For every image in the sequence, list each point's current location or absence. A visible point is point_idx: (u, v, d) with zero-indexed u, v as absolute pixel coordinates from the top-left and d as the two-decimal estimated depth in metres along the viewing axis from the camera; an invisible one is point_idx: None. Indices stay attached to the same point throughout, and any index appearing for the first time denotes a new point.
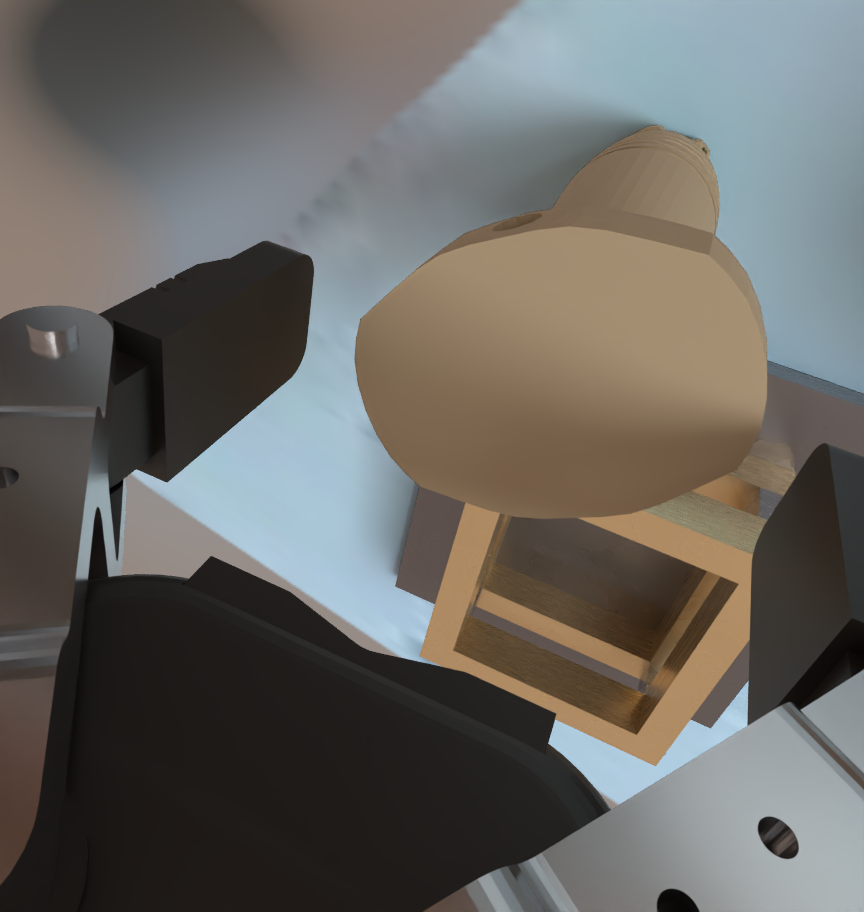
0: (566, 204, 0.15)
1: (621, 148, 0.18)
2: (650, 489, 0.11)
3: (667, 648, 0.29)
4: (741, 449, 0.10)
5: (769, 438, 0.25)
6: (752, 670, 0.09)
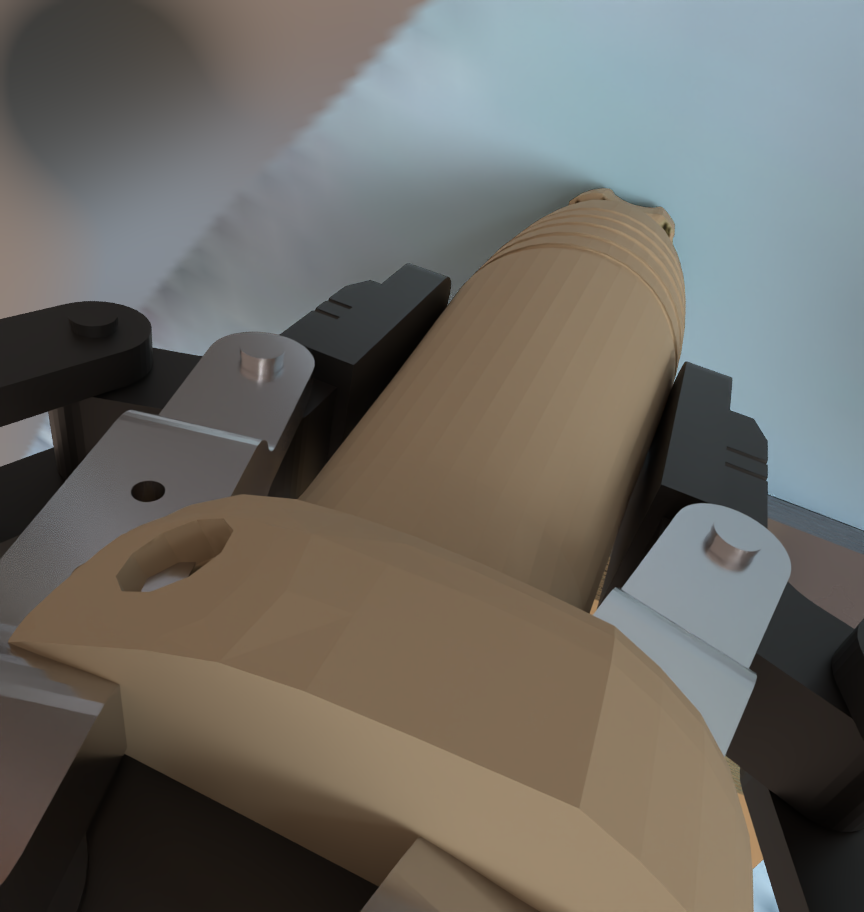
0: (413, 371, 0.09)
1: (532, 245, 0.12)
2: None
3: None
4: None
5: None
6: (611, 558, 0.10)
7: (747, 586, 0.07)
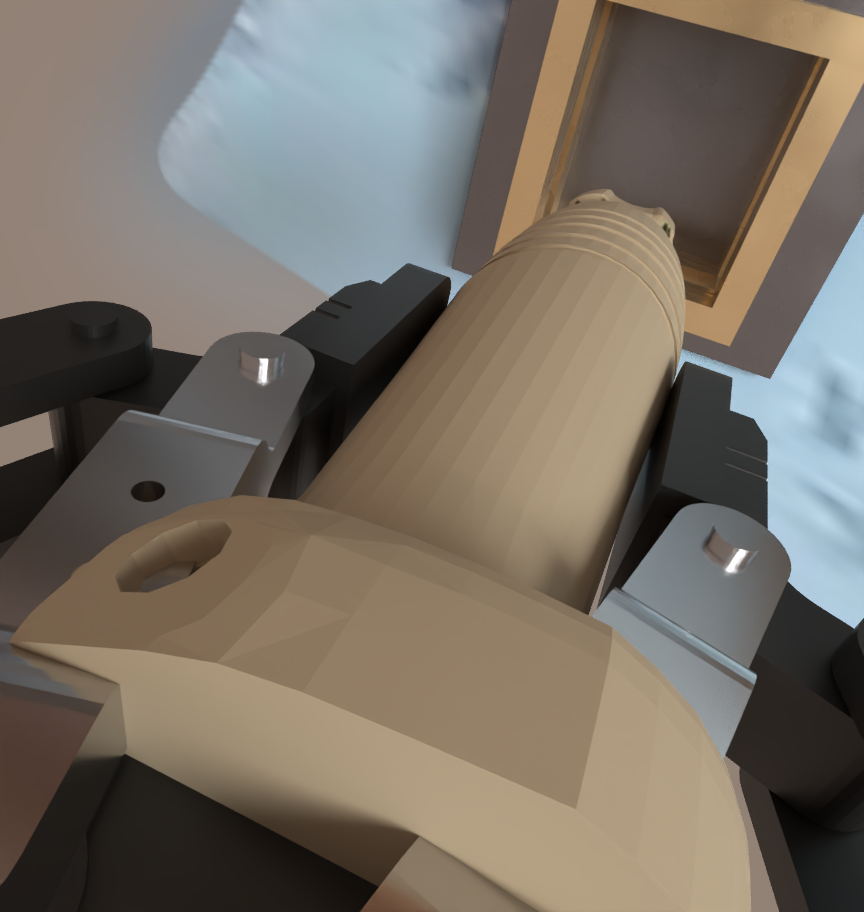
0: (412, 372, 0.09)
1: (532, 245, 0.12)
2: None
3: None
4: None
5: None
6: (611, 558, 0.10)
7: (747, 586, 0.07)
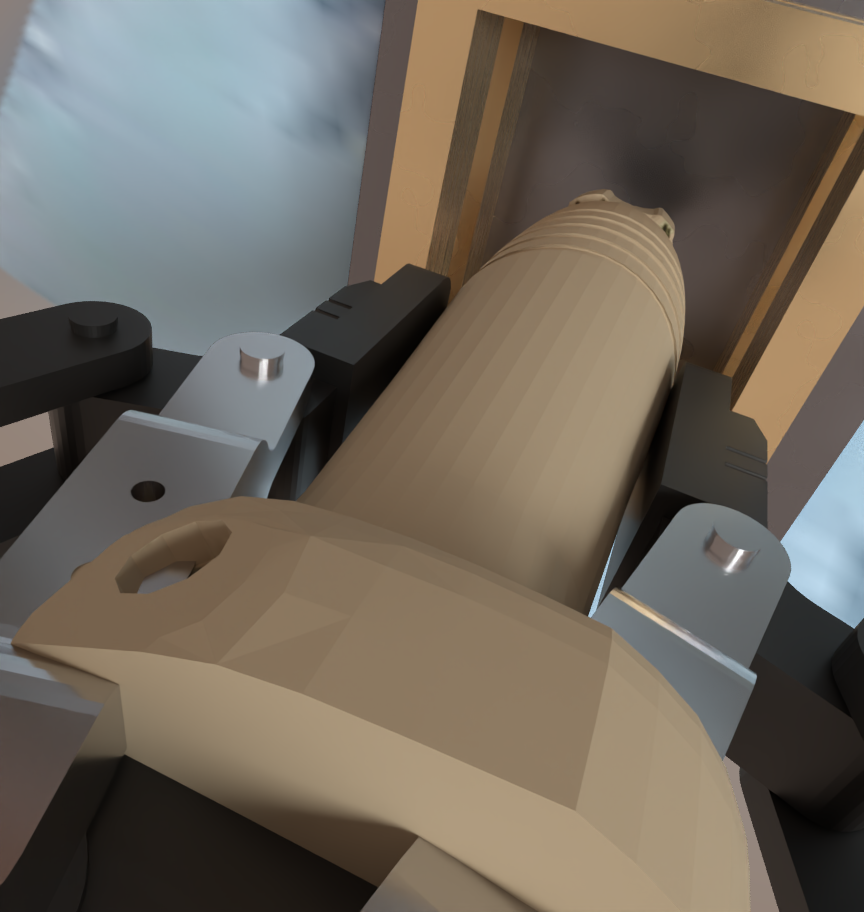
0: (412, 372, 0.09)
1: (532, 246, 0.12)
2: None
3: None
4: None
5: None
6: (611, 558, 0.10)
7: (747, 586, 0.07)
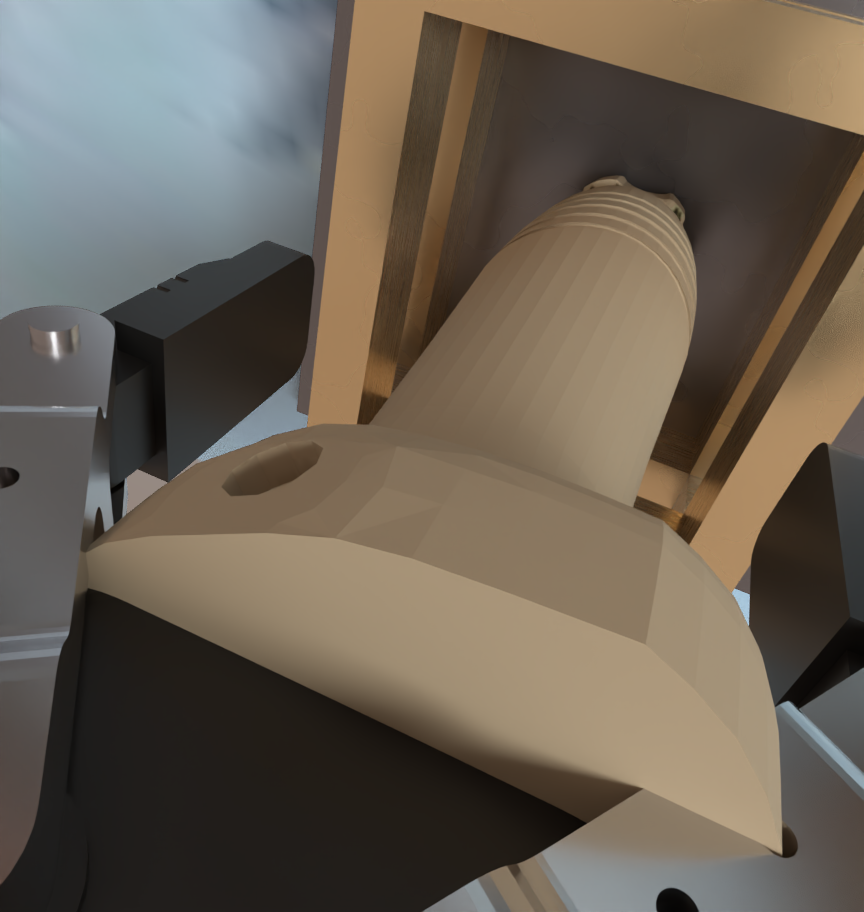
0: (451, 335, 0.09)
1: (554, 224, 0.12)
2: None
3: (721, 443, 0.17)
4: None
5: None
6: None
7: None
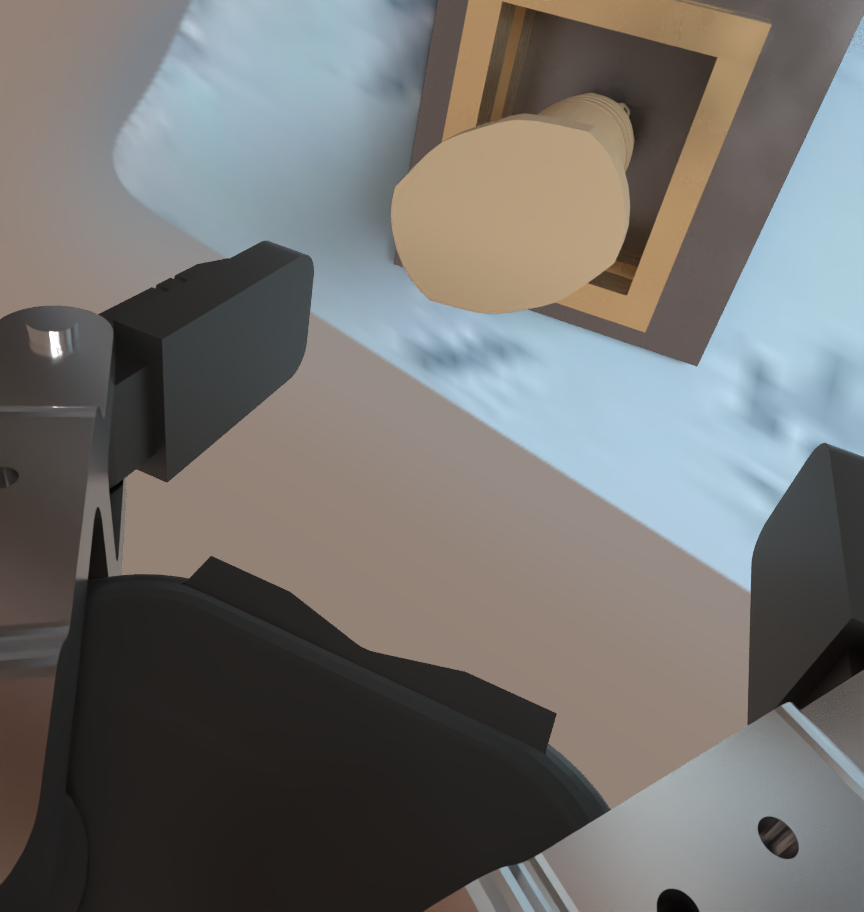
0: None
1: (561, 102, 0.26)
2: (567, 283, 0.19)
3: None
4: (615, 250, 0.19)
5: None
6: (752, 670, 0.09)
7: None
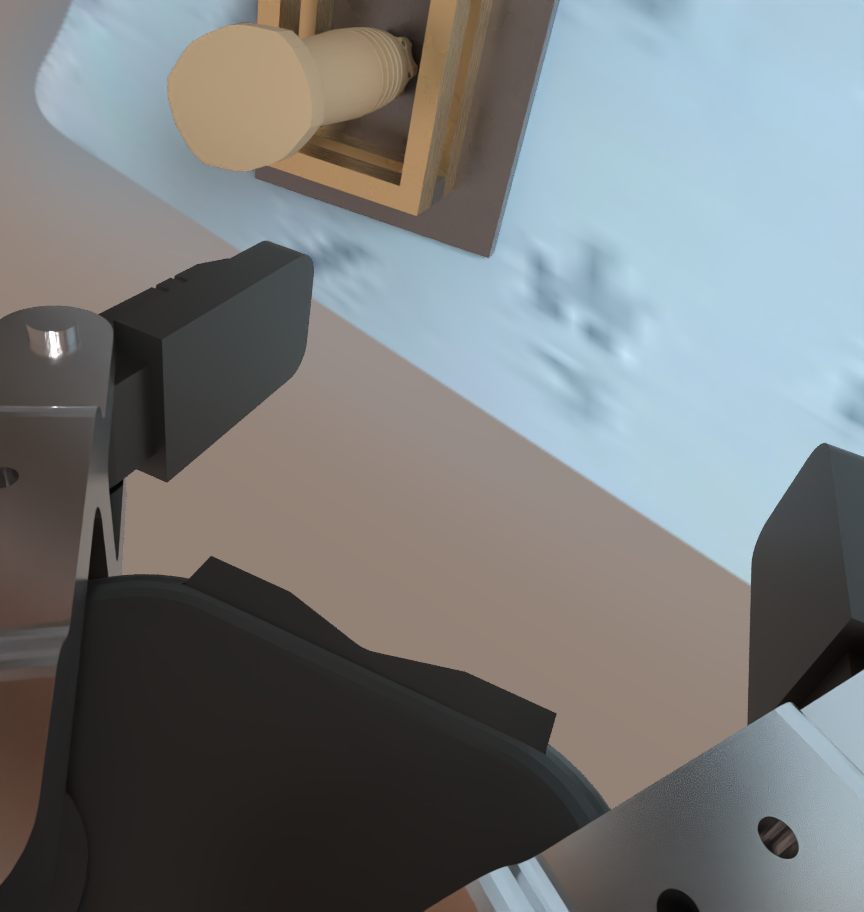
0: None
1: None
2: (285, 144, 0.28)
3: None
4: (308, 117, 0.27)
5: None
6: (752, 670, 0.09)
7: None
